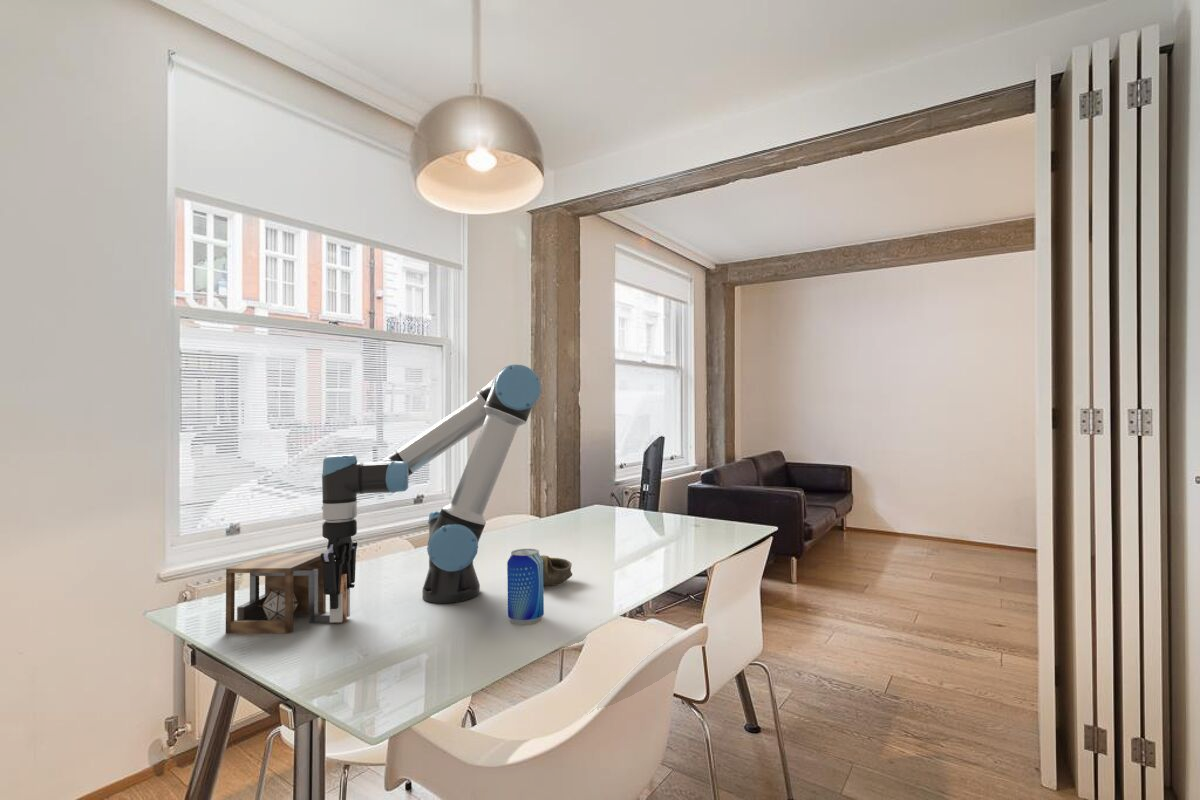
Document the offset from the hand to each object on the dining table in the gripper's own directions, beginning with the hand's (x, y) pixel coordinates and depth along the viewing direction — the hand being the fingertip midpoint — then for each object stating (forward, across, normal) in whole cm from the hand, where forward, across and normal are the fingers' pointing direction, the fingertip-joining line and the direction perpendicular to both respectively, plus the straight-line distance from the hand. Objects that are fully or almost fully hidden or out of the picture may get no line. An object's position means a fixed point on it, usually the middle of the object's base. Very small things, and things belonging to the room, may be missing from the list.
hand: (340, 618), depth 138 cm
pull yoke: (+1, 0, -10) cm, 10 cm away
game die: (+1, 0, -15) cm, 15 cm away
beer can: (+1, -1, +44) cm, 44 cm away
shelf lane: (+1, 0, -15) cm, 15 cm away
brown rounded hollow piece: (+1, -30, +45) cm, 54 cm away
